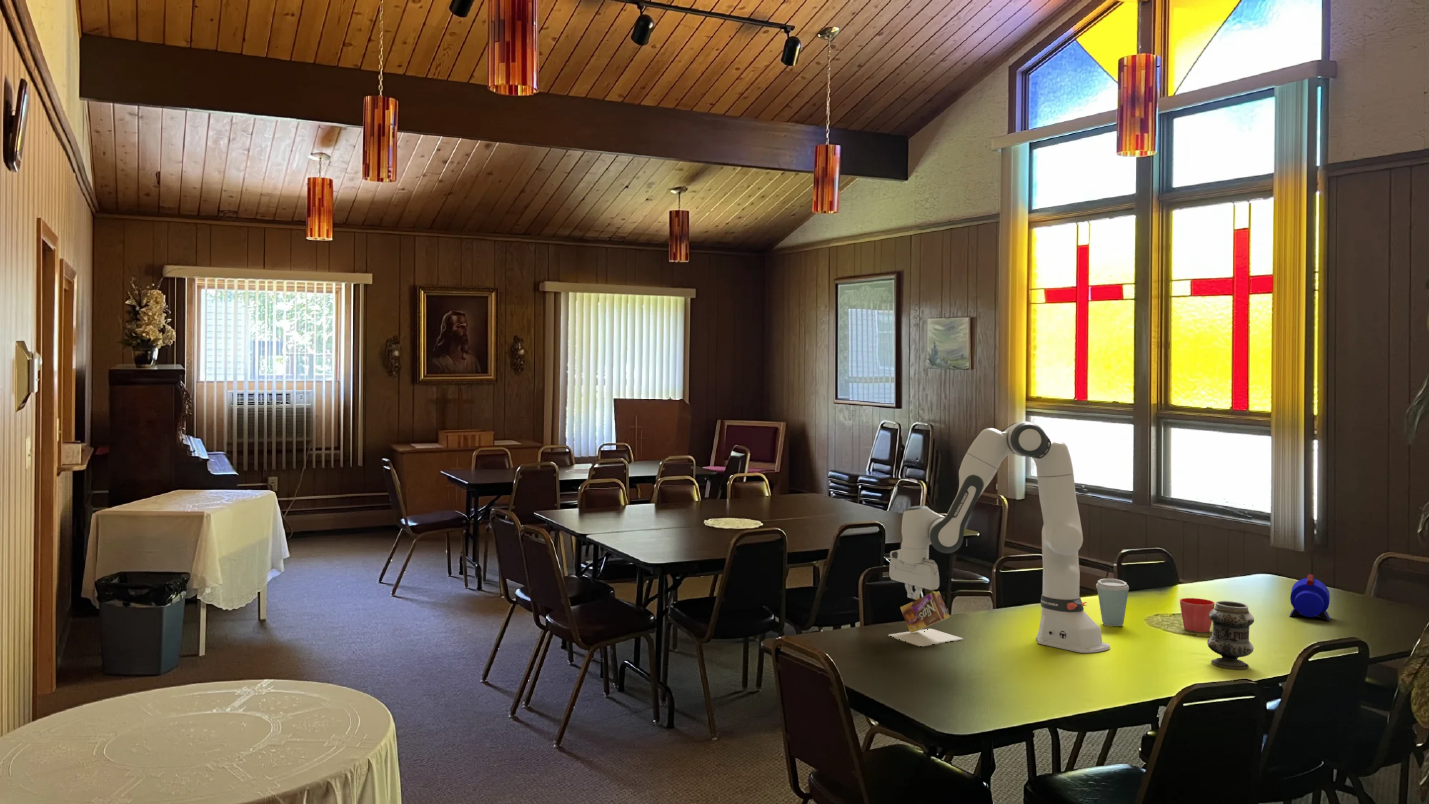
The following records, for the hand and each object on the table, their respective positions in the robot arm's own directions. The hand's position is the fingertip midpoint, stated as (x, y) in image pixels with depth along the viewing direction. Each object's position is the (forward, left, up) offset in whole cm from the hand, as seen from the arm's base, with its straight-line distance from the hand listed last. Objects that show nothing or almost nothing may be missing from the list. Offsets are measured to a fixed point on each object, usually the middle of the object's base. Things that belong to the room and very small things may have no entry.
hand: (913, 598), depth 326 cm
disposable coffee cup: (-21, -70, -12) cm, 74 cm away
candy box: (+2, 0, -7) cm, 8 cm away
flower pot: (-39, -90, -12) cm, 99 cm away
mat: (-6, 0, -12) cm, 13 cm away
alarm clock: (-46, -145, -12) cm, 153 cm away
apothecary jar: (-71, -58, -12) cm, 93 cm away
